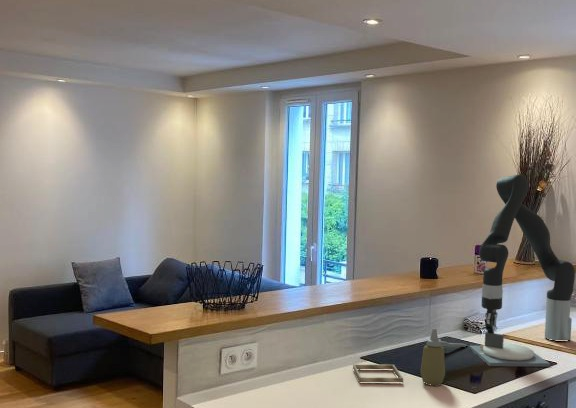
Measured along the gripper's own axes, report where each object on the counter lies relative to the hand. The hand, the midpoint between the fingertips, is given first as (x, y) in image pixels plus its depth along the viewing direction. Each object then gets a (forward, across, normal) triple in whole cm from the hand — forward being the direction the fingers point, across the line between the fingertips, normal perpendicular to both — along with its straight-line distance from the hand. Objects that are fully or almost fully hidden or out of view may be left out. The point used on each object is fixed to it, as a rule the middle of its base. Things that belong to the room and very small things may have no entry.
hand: (490, 339), depth 253 cm
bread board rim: (+3, +52, -27) cm, 59 cm away
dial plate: (+4, +4, +7) cm, 10 cm away
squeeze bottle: (+3, +49, -9) cm, 50 cm away
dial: (+3, +4, +7) cm, 8 cm away
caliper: (+5, +7, -13) cm, 16 cm away
